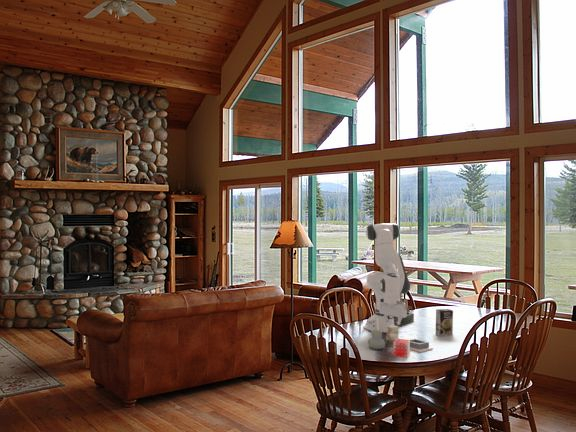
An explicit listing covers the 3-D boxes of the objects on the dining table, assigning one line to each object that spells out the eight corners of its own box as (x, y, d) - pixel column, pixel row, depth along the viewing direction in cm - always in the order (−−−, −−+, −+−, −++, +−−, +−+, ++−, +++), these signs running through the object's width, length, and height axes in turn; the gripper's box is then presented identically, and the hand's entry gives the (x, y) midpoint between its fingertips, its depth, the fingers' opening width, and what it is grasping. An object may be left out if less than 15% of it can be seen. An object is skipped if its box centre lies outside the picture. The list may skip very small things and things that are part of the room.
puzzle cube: (407, 357, 297) (407, 343, 297) (393, 355, 300) (393, 341, 300) (409, 353, 305) (410, 339, 305) (395, 352, 308) (395, 338, 307)
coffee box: (440, 336, 349) (440, 310, 349) (435, 333, 355) (435, 309, 355) (453, 335, 351) (453, 310, 351) (447, 333, 357) (447, 308, 357)
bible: (400, 327, 376) (401, 291, 375) (375, 323, 387) (375, 288, 387) (413, 321, 394) (414, 287, 394) (389, 318, 406) (389, 285, 405)
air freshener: (367, 346, 321) (367, 329, 320) (381, 346, 321) (381, 329, 321) (371, 351, 310) (371, 333, 310) (385, 350, 310) (386, 333, 310)
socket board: (401, 346, 320) (401, 340, 320) (414, 344, 326) (414, 337, 326) (419, 352, 308) (419, 345, 308) (432, 349, 314) (432, 342, 314)
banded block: (386, 342, 329) (386, 326, 329) (393, 341, 333) (393, 325, 332) (391, 344, 326) (391, 327, 326) (398, 342, 329) (398, 326, 329)
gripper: (409, 302, 322) (409, 325, 322) (384, 298, 339) (384, 320, 339) (401, 302, 318) (401, 326, 318) (377, 298, 335) (377, 321, 335)
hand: (392, 323), depth 328 cm, fingers open, 8 cm apart
